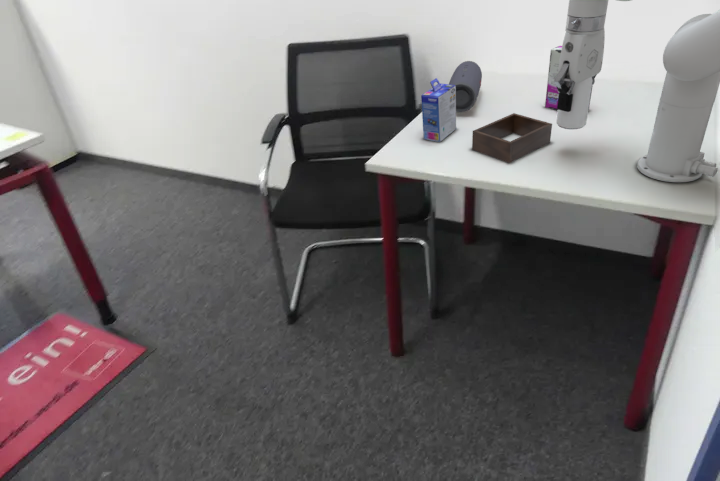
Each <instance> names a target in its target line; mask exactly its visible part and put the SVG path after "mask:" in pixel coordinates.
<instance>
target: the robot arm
mask: <svg viewBox="0 0 720 481" xmlns="http://www.w3.org/2000/svg"><path fill="white" fill-rule="evenodd" d="M616 1H618V2H631V1H632V0H616ZM608 5H609V0H568V8H567V15H566V23H565V35H564V37H563V41H562V45H561V46H562V50H561V55H560V61H559V69H558V74H557V76H556V78H555V79H554V83H555V84H556V87H557V89H558V93H559V97H558V105H557V109H558V110H562V111H566V112H570V111H571V106H572V99H573V94H571V93H572V90H573V87H574V85H575V82H576V83H578V82H581V81H583V80H586V79H588V78H590V77H592V80H593V82H592V89H591V94H592V92H593V85H594V84H595V82H596V81H595V78H596V77H597V75H598V74H600V73H601V72H602V69H603V68H602V67H603V59H604V54H605V53H604V52H605V42H606V41H605V39H606V38H605V36H606V34H605V24H606V18H607V11H608ZM662 65H663V67H664V70H665V72H666V73H665V77H664V81H663V85H662V90H661V94H660V97H659V101H658V106H657V112H656V115H655V120H654V123H653V129H652V133H651V137H650V142H649V146H648V150H647V154H645V155H643V156H641V157H639V159H638V160H637V164H636V167H637V170H638V171H639V172H640V173H641V174H643V175H644V176H645V177H648V178H651V179H654V180H657V181H662V182H665V183H666V182H668V183H688V182H693V181H696V180H697V179H700V178H701V177H703V175H704V176H708V177H711V178H714V177H715V176H716V175H717V172H718V167H717V163H716V162H713V161H706V160H705V159H704V157H705V152H703V151H701V150H702V146H703V143H704V139H705V135H706V132H707V128H708V125H709V121H710V117H711V113H712V110H713V107H714V104H715V101H716V97H717V94H718V90H719V87H720V9H718V10H716V11H715V12H713V13H703V14H699V15H696V16H693V17H691V18H690V19H688V20H687V21H685V22H684V23H683V24H682V25H681V26H680V27H679V28H678V29H677V30H676V31H675V32H674V34H673V35H672V37H671V38H670V39H669V40H668V41H667V43H666V45H665V47H664V49H663V54H662ZM567 76H570V79H567ZM566 82H570V84H569V87H567V85H566V84H565V83H566ZM591 98H592V95H591V96H590V100H591ZM558 110H557V111H558Z"/></svg>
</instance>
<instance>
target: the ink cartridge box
mask: <svg viewBox="0 0 720 481" xmlns="http://www.w3.org/2000/svg"><path fill="white" fill-rule="evenodd" d="M435 83H437V84H436V85H434V84H435ZM429 84H430V86H431V88H429V89H428V90H427V91H426V92H424V93H422V94H421V95H420V98H421V99H420V100H421V117H422V134H423V140H427V141H432V142H437V143H440V142H442V141H443V140H445V139H446V138H447V137H449V135H450V134H452V133H453V132H454V131H455V130H457V112H456V86H455V85H449V83H440V81H439V79H438V78H434V79H433V80H431V81H430V82H429Z"/></svg>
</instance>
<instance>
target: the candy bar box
mask: <svg viewBox="0 0 720 481" xmlns="http://www.w3.org/2000/svg"><path fill="white" fill-rule="evenodd" d="M561 50H562V45H558V46H556V47H554V48H551V49H550V55H549V64H548V73H547V75H548V76H547V83H546V93H545V100H544V101H545V102H544V107H545V109H546V108H547V109H550V110H555V111H558V109H557V105H558V97H559V93H558V89H557V87H556V84H555V83H554V79H555V78H556V76H557V74H558V69H559V61H560V55H561ZM590 104H591V101H590V102H589V107H590V106H591V105H590ZM589 110H590V108H589V109H588V111H589Z"/></svg>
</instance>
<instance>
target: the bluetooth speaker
mask: <svg viewBox="0 0 720 481" xmlns="http://www.w3.org/2000/svg"><path fill="white" fill-rule="evenodd" d="M482 79H483V72H482V69H481V66H480V65H479V64H478V63H476V62H475V61H472V60H465V61H463V62H461V63H459V65H458V66H456V68H455V70H454V71H453V73H452V75H451V77H450V80H449V83H448V84H449V85H455V86H456V113H466V112H468V111H470V110H471V109H472V108H473V107H474V105H475V104H476V102H477V99H478V96H479V94H480V91H481V88H482V87H481V86H482Z"/></svg>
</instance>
